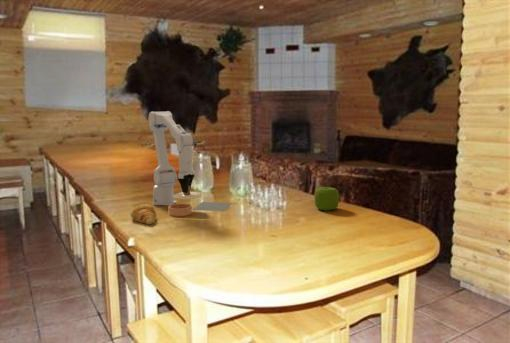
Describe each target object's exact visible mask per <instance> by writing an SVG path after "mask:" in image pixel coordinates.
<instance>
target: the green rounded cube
mask: <svg viewBox="0 0 510 343" xmlns="http://www.w3.org/2000/svg"><path fill="white" fill-rule="evenodd" d="M339 193H340V192H339V190H338V189H336V188H335V187H332V186H331V187H330V186H328V185H327V186H319V187H318V188H316V189H315V191H314V205H315V207H316V208H317V209H318V210H319V209H320V210H319V211H322V210H324V211H323V212H330V210H331V211H333V210H335V209H337V208H338V207H339V203H340V202H339V201H340V194H339Z"/></svg>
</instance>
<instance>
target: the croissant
mask: <svg viewBox="0 0 510 343" xmlns="http://www.w3.org/2000/svg"><path fill="white" fill-rule="evenodd" d="M130 217H131V219H132V220H133V221H135V222H139V223H142V224H146V225H151V224H153V223H155V221H156V220H157V213H156V211H155V208H154V206H153V205H151V204H148V203H141V204H138V205H136V206H135V207H134V208H133V209H132V210H131V213H130Z"/></svg>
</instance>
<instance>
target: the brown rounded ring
mask: <svg viewBox="0 0 510 343" xmlns="http://www.w3.org/2000/svg"><path fill="white" fill-rule="evenodd" d="M167 206H168V211H167V212H168V215H169V216H173V217H184V216H185V217H186V216H188V215H191V214H192V213H193V210H192V209H193V208H192V204H189V203H174V204H172V205H167Z"/></svg>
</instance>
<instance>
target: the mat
mask: <svg viewBox="0 0 510 343" xmlns="http://www.w3.org/2000/svg"><path fill="white" fill-rule="evenodd" d="M232 204H233V202H218V201H217V202H214V201H202V202H200V203H198V205H196V206H195V207H194V208H192V211H193V210H194V211H195V210H196V211H199V210H200V211H218V212H225V211H226V210H227V209H228V208H229V207H230V206H231V205H232Z"/></svg>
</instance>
